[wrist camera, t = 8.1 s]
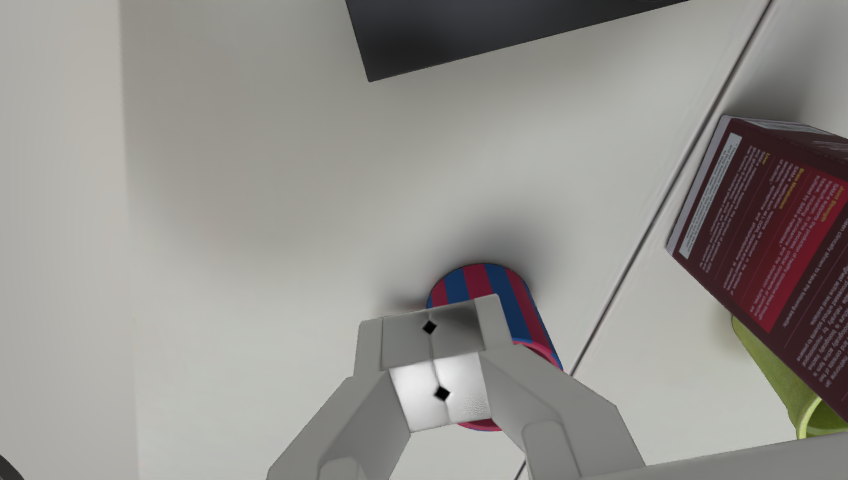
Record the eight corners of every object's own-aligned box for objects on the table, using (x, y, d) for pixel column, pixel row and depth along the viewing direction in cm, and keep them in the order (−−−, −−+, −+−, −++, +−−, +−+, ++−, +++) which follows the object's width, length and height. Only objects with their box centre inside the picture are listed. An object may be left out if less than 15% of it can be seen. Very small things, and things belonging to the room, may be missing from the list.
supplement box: (734, 255, 29) (1042, 506, 15) (661, 249, 29) (912, 503, 15) (804, 117, 25) (1314, 290, 11) (721, 107, 24) (1147, 276, 11)
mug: (521, 346, 32) (551, 431, 26) (373, 346, 31) (369, 434, 25) (538, 263, 29) (577, 338, 23) (374, 261, 28) (369, 338, 22)
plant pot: (703, 372, 34) (791, 485, 27) (706, 269, 30) (814, 370, 22) (836, 341, 33) (965, 447, 26) (860, 230, 29) (1026, 320, 21)
